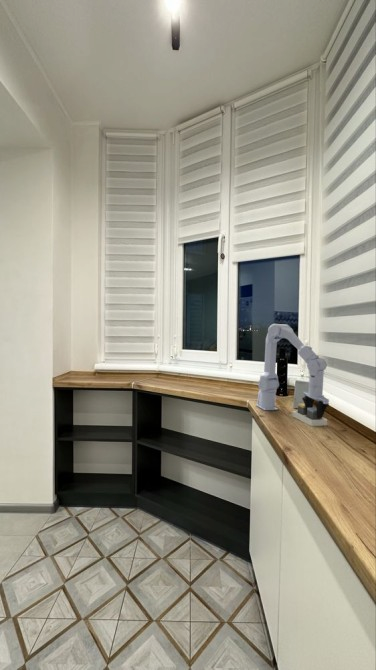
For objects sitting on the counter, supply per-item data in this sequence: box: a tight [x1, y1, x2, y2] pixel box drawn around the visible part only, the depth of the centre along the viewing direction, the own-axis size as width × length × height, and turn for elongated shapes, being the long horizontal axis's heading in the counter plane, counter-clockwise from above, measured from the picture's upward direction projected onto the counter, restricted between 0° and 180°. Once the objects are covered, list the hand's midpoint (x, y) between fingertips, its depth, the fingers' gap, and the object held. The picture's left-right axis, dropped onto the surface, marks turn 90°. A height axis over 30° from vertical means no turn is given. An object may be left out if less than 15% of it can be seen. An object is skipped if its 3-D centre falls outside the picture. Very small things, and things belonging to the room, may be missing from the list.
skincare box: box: [292, 378, 309, 410], centre depth 157 cm, size 8×6×15 cm
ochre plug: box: [297, 403, 307, 415], centre depth 140 cm, size 4×4×6 cm
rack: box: [291, 410, 328, 427], centre depth 137 cm, size 14×8×2 cm, turn 15°
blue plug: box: [307, 406, 319, 420], centre depth 133 cm, size 4×4×6 cm
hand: (314, 415), depth 133 cm, fingers open, 6 cm apart
